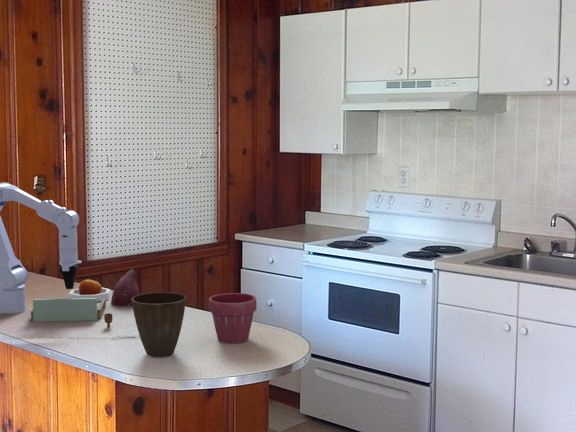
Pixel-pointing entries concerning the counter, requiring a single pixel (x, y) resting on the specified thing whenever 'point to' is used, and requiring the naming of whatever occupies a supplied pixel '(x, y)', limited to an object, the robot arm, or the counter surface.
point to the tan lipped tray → (99, 310)
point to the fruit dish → (102, 295)
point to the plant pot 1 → (159, 321)
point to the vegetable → (125, 290)
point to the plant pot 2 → (232, 316)
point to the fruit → (89, 287)
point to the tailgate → (64, 309)
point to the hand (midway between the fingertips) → (69, 288)
